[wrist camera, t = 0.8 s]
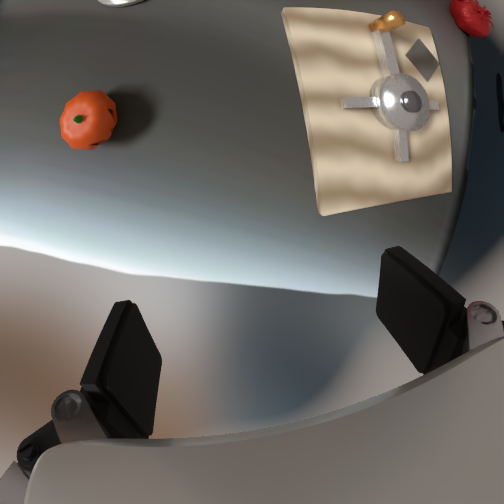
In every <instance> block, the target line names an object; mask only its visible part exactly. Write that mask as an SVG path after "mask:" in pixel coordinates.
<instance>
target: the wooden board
mask: <svg viewBox="0 0 504 504" xmlns="http://www.w3.org/2000/svg"><path fill="white" fill-rule="evenodd" d="M281 15H282V19H283V23H284V26H285V30H286V34H287V38H288V42H289V46H290V50H291V54H292V59H293V63H294V67H295V72H296V77H297V81H298V86H299V91H300V96H301V101H302V106H303V112H304V117H305V123H306V129H307V135H308V141H309V147H310V154H311V160H312V167H313V175H314V182H315V190H316V198H317V207H318V212H319V213H320V214H321V215H322V216H326V215H331V214H336V213H341V212H346V211H351V210H356V209H361V208H366V207H371V206H376V205H381V204H387V203H392V202H397V201H403V200H408V199H414V198H419V197H425V196H430V195H436V194H442V193H447V192H452V159H451V139H450V127H449V118H448V109H447V102H446V96H445V90H444V84H443V79H442V74H441V69H440V64H439V60H438V56H437V52H436V48H435V45H434V41H433V38H432V34H431V31H430V28H428V27H425V26H421V25H418V24H414V23H411V22H407V21H406V23H405V24H404V25H402V26H400V27H398V28H395V29H393V30H391V31H389V33H390V36H391V39H392V43H393V47H394V51H395V55H396V59H397V63H398V67H399V72H400V73H404V74H408V75H410V76H412V77H414V78H415V79H417V80H418V81H419V82H420V83H421V85H422V86H423V88H424V89H425V91H426V93H427V96H428V99H429V100H432V101H438V104H439V110H430V113H429V118H428V120H427V122H426V124H425V125H424V126H423V127H422V128H421V129H419V130H416V131H406V134H407V145H408V158H409V161H404V162H400V161H396V160H395V152H394V141H393V132H392V129H389V128H387V127H385V126H383V125H382V124H381V123H380V122H379V121H378V120H377V119H376V117H375V116H374V114H373V112H372V110H371V108H343V109H342V108H341V102H340V98H344V97H369V93H370V89H371V86H372V85H373V83H374V82H375V81H376V80H377V79H379V78H382V77H383V76H382V72H381V67H380V63H379V58H378V54H377V50H376V46H375V43H374V39H373V35H372V32H371V31H370V30H369V27H368V25H369V23H370V22H372V21H374V20H376V19H377V18H379V17H381V16H380V15H374V14H368V13H362V12H355V11H347V10H337V9H324V8H284V9H283V10H282V12H281Z"/></svg>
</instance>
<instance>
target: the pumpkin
mask: <svg viewBox="0 0 504 504" xmlns="http://www.w3.org/2000/svg"><path fill="white" fill-rule="evenodd" d="M116 123H117V114H116V103H115V102H114V101H113V100H112V99H110V98H109V97H108V96H107V95H106V94H105V93H104V92H103V91H100V90H99V91H81V92H80V93H79V94H78V95H77V96H75V97H74V98H73V99H72V100H70V101H69V102H67V103H66V106H65V109H64V112H63V114H62V116H61V118H60V125H61V136H62V138H63V139H64V140H65V141H67V142H68V144H69V145H70V146H71V147H72V148H73V149H90V150H92V149H94V148H96V147H97V146H98V145H100V144H101V143H103V142H104V141H106V140H107V139H109V138H110V136H111V133H112V131H113V129H114V127H115V125H116Z"/></svg>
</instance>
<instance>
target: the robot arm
mask: <svg viewBox="0 0 504 504" xmlns="http://www.w3.org/2000/svg"><path fill="white" fill-rule="evenodd" d="M98 1H99V2H100V3H102V4H103V5H106V6H109V7H124V6H129V5H133V4H136V3H139V2H141V1H144V0H98ZM465 301H466V299H465V298H464V297H463V296H462V295H460V294H459V293H458V292H457V291H456V290H455V289H453V288H452V287H451V286H450V285H449V284H447V283H446V282H445V281H444V280H443V279H441V278H440V277H439V276H438V275H437V274H435V273H434V272H433V271H432V270H430V269H429V268H428V267H427V266H425V265H424V264H423V263H421V262H420V261H419V260H418V259H416V258H415V257H414V256H412V255H411V254H410V253H408V252H407V251H406V250H404V249H403V248H402V247H400V246H396V247H392V248H388V249H386V250H385V252H384V253H383V254H382V256H381V267H380V278H379V288H378V297H377V305H376V313H377V316H378V318H379V319H380V321H381V322H382V323H383V324H384V325H385V327H386V328H387V330H388V331H389V332H390V334H391V335H392V336H393V338H394V339H395V340H396V342H397V343H398V344H399V346H400V347H401V348H402V350H403V351H404V353H405V354H406V355H407V357H408V358H409V360H410V361H411V362H412V363H413V365H414V367H415V368H416V369H417V371H418V372H420V373H423V374H424V375H423V376H421V377H419V378H417V379H415V380H413V381H411V382H408V383H406V384H404V385H402V386H399V387H397V388H395V389H392V390H390V391H388V392H385V393H383V394H380V395H378V396H375V397H372V398H370V399H367V400H365V401H362V402H359V403H356V404H353V405H350V406H347V407H344V408H341V409H338V410H335V411H331V412H328V413H325V414H321V415H318V416H314V417H310V418H307V419H303V420H299V421H295V422H291V423H286V424H281V425H277V426H272V427H267V428H261V429H256V430H250V431H243V432H237V433H229V434H222V435H212V436H202V437H188V438H168V439H148V438H149V435H152V433H153V426H154V416H155V408H156V400H157V392H158V386H159V379H160V372H161V366H162V358H161V355H160V353H159V351H158V349H157V347H156V345H155V343H154V341H153V339H152V337H151V335H150V333H149V331H148V329H147V326H146V324H145V322H144V320H143V318H142V315H141V313H140V311H139V309H138V306H137V305H136V304H135V303H132V302H131V301H130V300H126V301H120V302H116V303H115V304H114V306H113V308H112V310H111V312H110V314H109V316H108V318H107V320H106V322H105V324H104V327H103V329H102V331H101V333H100V336H99V338H98V340H97V342H96V345H95V347H94V349H93V352H92V354H91V357H90V359H89V362H88V364H87V367H86V369H85V371H84V374H83V377H82V379H81V382H80V385H81V386H82V387H81V390H80V392H79V391H78V390H68V391H66V392H63V393H62V394H60V395H59V396H58V397H57V398H56V399H55V400H54V402H53V404H52V407H51V416H52V420H51V421H50V422H48V423H47V424H46V425H44V426H43V427H41V428H40V429H38V430H37V431H36V432H34V433H33V434H31V435H30V436H28V437H27V438H26V439H24V440H23V441H22V442H21V444H20V445H19V447H18V450H17V460H18V463H17V462H16V461H14V462H13V463H12V464H11V465H10V467H9V468H8V469H7V471H6V472H5V473H4V474H3V476H2V477H1V478H0V504H504V321H501V316H500V314H499V311H498V310H497V309H496V308H495V307H494V306H493V305H491V304H489V303H487V302H483V301H475V302H472V303H471V304H469V306H468V308H465V307H464V304H465Z"/></svg>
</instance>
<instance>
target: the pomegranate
mask: <svg viewBox="0 0 504 504" xmlns="http://www.w3.org/2000/svg"><path fill="white" fill-rule="evenodd" d="M475 1H476V2H475ZM475 1H474V0H452V2H451V3H450V12H451V14H452V16H453V18H454V19H455V21H456V24H457V25H458V27H459V28H460V29H462V30H463V31H465V32H466V33H468V34H469V35H472V36H475V37H486V36H488V35H489V33H490V23H491V24H492V22H491V21H490V18H491V17H490V16H489V15H491V13H490V12H489V11H488V10H486V11H485V9H486V8H485V6H484V7H483V8H482V7H481V6H480V5H479V4H478V1H477V0H475ZM489 17H490V18H489ZM492 27H493V24H492Z"/></svg>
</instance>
